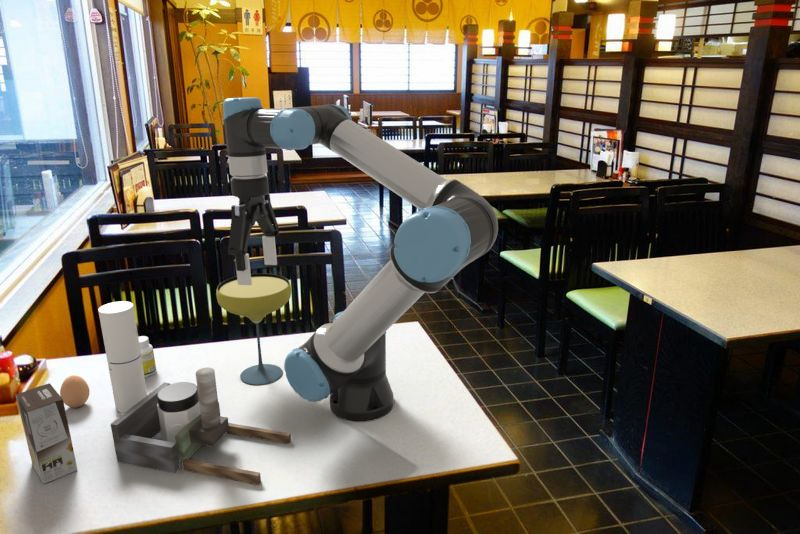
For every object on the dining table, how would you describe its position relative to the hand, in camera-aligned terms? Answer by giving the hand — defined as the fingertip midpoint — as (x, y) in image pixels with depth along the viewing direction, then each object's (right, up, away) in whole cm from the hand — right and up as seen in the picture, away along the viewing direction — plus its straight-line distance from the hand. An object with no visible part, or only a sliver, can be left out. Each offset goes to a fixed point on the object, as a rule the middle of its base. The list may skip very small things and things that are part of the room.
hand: (258, 274), depth 127 cm
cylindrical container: (-33, -31, +13) cm, 48 cm away
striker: (-10, -36, -4) cm, 38 cm away
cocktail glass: (-6, -27, +27) cm, 38 cm away
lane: (-10, -37, -4) cm, 38 cm away
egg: (-46, -32, +13) cm, 57 cm away
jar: (-16, -36, 0) cm, 39 cm away
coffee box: (-39, -39, -9) cm, 56 cm away
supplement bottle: (-36, -27, +28) cm, 53 cm away
